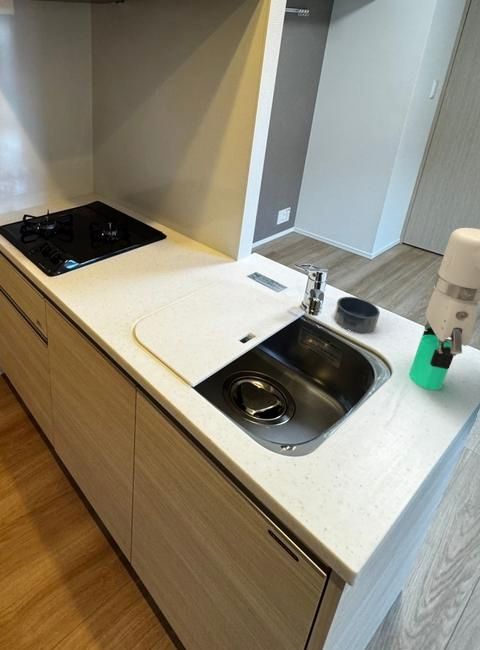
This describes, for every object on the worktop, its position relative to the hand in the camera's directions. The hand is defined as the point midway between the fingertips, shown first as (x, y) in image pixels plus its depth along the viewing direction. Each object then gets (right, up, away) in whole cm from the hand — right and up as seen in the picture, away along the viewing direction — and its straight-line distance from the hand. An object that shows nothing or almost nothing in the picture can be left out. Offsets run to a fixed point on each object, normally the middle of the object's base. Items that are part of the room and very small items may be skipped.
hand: (433, 355), depth 91 cm
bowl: (-4, +1, +22) cm, 23 cm away
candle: (0, -7, +3) cm, 7 cm away
